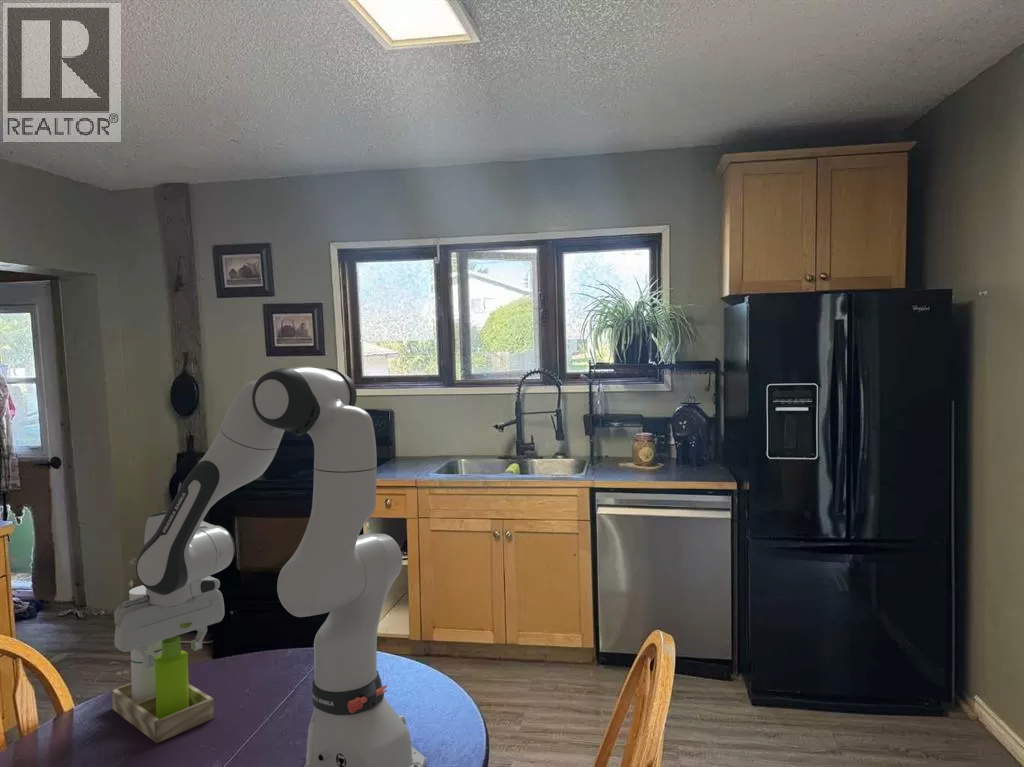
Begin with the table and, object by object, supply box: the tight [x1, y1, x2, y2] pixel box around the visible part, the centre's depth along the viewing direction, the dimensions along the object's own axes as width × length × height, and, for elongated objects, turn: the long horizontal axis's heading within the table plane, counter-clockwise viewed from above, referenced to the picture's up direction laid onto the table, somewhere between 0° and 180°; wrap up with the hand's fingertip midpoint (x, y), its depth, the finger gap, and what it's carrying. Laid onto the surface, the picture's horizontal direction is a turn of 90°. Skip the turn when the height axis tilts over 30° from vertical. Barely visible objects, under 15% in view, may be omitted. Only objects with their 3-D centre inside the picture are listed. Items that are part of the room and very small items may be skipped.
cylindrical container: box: [128, 584, 162, 703], centre depth 135 cm, size 7×7×25 cm
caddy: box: [110, 682, 215, 744], centre depth 132 cm, size 21×11×4 cm, turn 52°
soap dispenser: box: [155, 623, 192, 719], centre depth 129 cm, size 6×7×20 cm
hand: (173, 657), depth 129 cm, fingers open, 8 cm apart
